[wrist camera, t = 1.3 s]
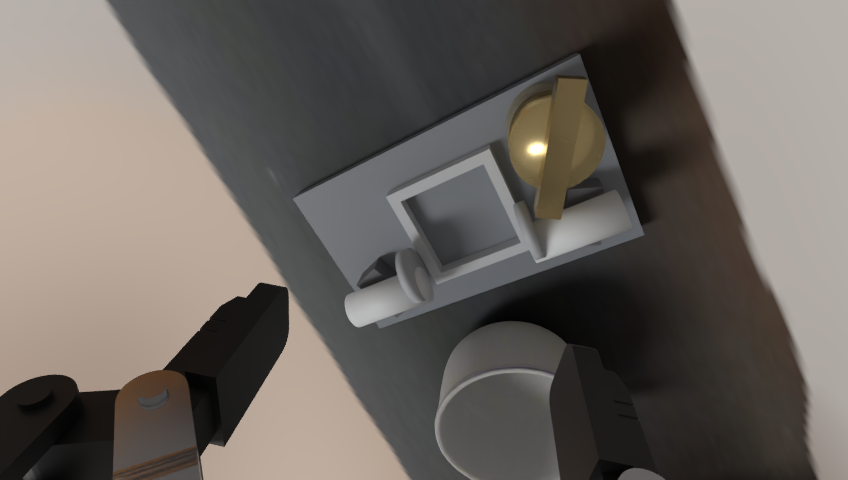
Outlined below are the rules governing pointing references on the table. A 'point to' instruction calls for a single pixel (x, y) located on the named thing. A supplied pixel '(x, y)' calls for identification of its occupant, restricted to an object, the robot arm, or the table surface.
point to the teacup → (500, 403)
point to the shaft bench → (459, 213)
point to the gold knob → (554, 140)
